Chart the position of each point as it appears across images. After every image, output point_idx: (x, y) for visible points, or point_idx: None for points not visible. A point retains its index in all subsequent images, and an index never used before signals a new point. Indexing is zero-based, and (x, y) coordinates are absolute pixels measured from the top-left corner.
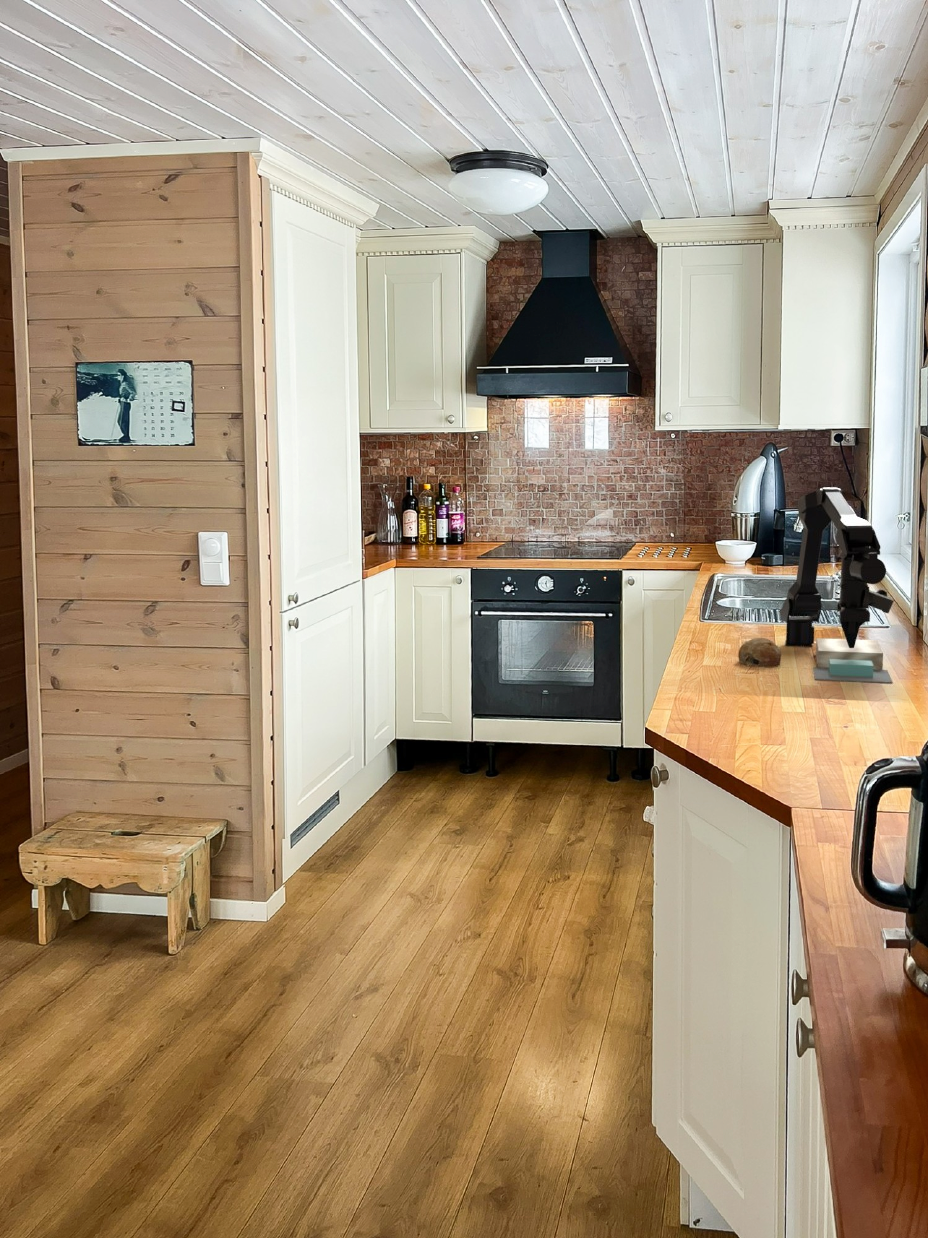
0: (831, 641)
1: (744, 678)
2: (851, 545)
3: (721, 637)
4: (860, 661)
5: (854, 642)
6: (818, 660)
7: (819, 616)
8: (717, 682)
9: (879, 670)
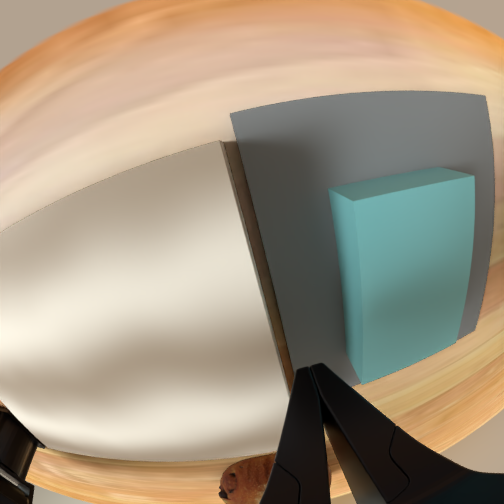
0: (53, 427)
1: (444, 419)
2: None
3: (73, 488)
4: (394, 258)
5: (346, 387)
6: None
7: None
8: (466, 419)
9: (268, 151)
